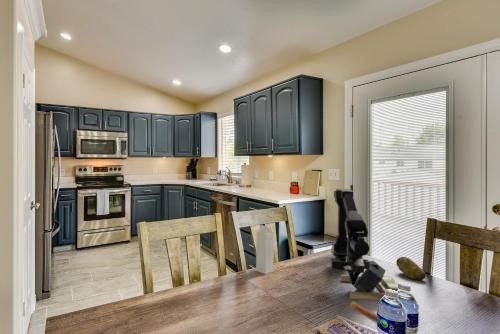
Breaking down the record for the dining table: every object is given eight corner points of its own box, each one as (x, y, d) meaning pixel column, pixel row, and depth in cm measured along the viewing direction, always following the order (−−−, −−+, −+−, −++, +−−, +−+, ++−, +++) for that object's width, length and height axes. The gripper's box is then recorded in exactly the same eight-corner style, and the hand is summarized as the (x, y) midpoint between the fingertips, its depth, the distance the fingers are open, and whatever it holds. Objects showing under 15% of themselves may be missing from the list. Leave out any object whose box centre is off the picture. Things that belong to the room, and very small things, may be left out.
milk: (265, 274, 138) (265, 228, 137) (255, 270, 142) (256, 226, 141) (273, 270, 142) (273, 226, 141) (263, 267, 146) (264, 223, 145)
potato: (411, 282, 130) (411, 265, 130) (393, 271, 143) (393, 255, 142) (427, 281, 131) (428, 264, 131) (408, 270, 144) (409, 254, 144)
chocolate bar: (378, 324, 98) (378, 318, 98) (349, 308, 109) (350, 302, 109) (383, 322, 100) (383, 316, 100) (354, 306, 110) (354, 300, 110)
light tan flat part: (341, 280, 132) (341, 271, 132) (391, 282, 130) (392, 274, 129) (350, 298, 115) (350, 288, 115) (408, 302, 113) (409, 291, 113)
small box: (367, 298, 116) (383, 279, 112) (353, 286, 118) (367, 267, 115) (372, 288, 125) (386, 270, 121) (358, 277, 127) (372, 259, 124)
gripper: (334, 252, 115) (333, 291, 115) (384, 255, 113) (382, 295, 113) (330, 244, 126) (329, 280, 127) (375, 247, 124) (373, 284, 124)
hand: (352, 285), depth 122 cm, fingers closed, pressing on small box
